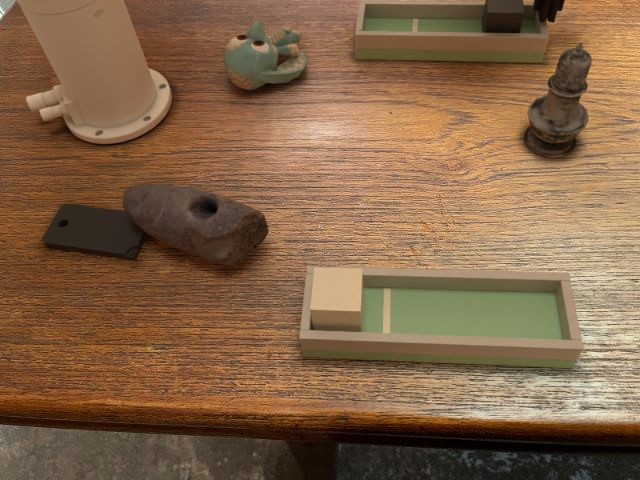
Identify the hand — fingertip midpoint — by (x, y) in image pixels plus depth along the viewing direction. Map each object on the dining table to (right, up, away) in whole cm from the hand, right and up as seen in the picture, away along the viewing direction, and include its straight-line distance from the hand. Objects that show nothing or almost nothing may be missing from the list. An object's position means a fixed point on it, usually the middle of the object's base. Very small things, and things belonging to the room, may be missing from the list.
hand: (545, 14), depth 70 cm
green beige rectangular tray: (-10, -2, +5) cm, 12 cm away
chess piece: (-2, -16, -6) cm, 17 cm away
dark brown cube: (-5, -1, +3) cm, 5 cm away
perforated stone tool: (-38, -26, -10) cm, 47 cm away
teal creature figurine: (-29, +1, +6) cm, 30 cm away
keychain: (-48, -25, -9) cm, 55 cm away
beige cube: (-24, -32, -18) cm, 44 cm away
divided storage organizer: (-16, -33, -18) cm, 41 cm away
